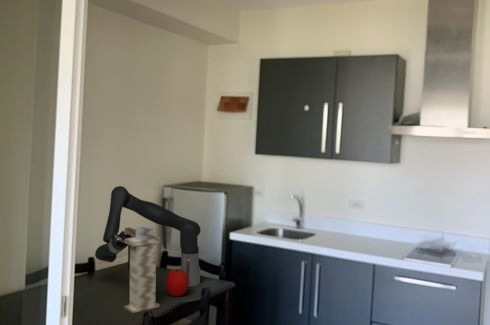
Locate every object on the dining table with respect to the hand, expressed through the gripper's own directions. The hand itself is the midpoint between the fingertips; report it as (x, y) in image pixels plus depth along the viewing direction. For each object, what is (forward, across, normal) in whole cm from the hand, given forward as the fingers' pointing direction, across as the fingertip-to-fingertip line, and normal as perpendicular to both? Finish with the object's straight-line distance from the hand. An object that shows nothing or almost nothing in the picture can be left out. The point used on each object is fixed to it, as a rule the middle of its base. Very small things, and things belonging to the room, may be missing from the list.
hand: (132, 231), depth 244 cm
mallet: (+3, 0, +3) cm, 4 cm away
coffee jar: (-59, +29, +5) cm, 66 cm away
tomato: (-13, +22, +32) cm, 40 cm away
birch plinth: (-8, 0, +34) cm, 35 cm away
